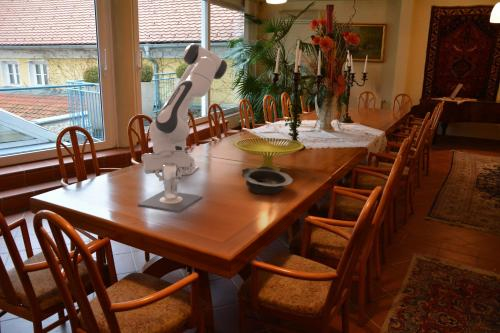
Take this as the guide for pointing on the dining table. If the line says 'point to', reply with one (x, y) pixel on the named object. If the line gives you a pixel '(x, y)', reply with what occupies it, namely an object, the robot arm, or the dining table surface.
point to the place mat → (170, 202)
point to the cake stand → (268, 149)
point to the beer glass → (170, 180)
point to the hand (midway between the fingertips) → (170, 179)
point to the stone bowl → (265, 180)
